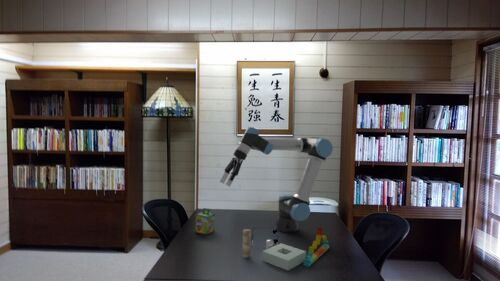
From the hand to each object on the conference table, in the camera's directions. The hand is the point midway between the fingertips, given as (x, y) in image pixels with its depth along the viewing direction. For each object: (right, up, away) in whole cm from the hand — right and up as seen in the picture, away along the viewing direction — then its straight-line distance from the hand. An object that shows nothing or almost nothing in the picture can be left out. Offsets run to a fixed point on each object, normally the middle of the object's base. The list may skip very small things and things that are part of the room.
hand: (224, 184), depth 191 cm
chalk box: (-14, -34, +22) cm, 43 cm away
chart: (+51, -38, -11) cm, 64 cm away
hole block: (+32, -37, -19) cm, 53 cm away
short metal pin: (+26, -36, -4) cm, 44 cm away
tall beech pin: (+13, -36, -15) cm, 41 cm away
